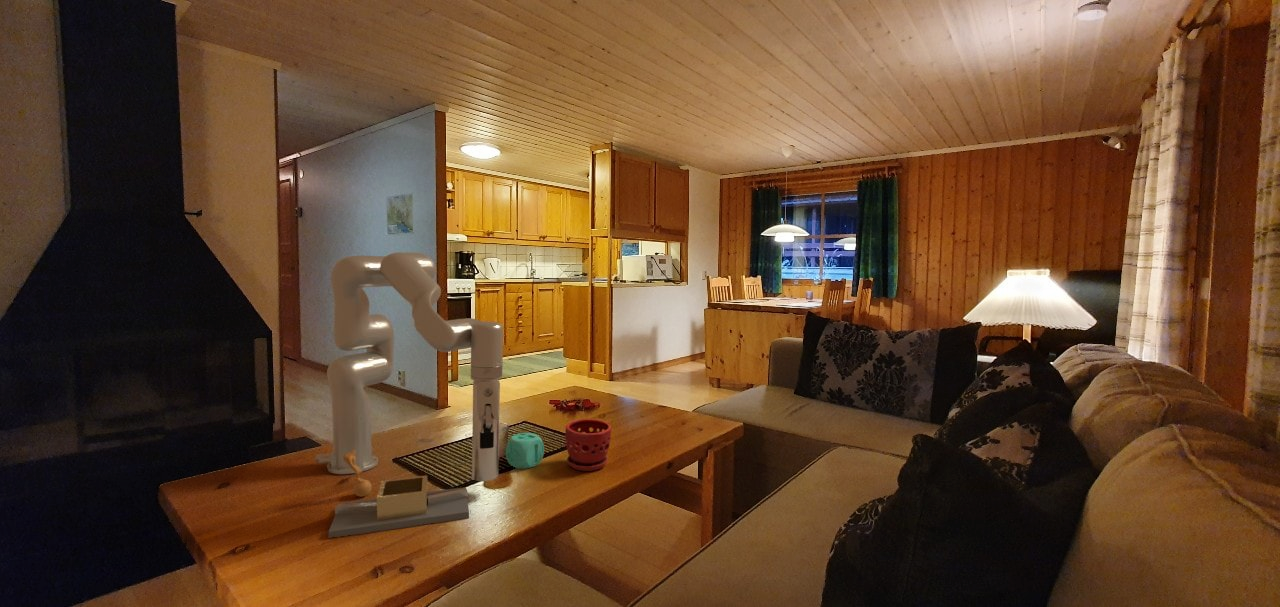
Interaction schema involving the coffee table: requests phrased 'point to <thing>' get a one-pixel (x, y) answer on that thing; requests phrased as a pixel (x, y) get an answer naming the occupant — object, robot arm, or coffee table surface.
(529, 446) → the decorative dice
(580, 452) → the plant pot
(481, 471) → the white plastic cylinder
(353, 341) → the robot arm
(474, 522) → the coffee table surface
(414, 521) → the base plate
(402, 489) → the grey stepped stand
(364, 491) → the figurine
